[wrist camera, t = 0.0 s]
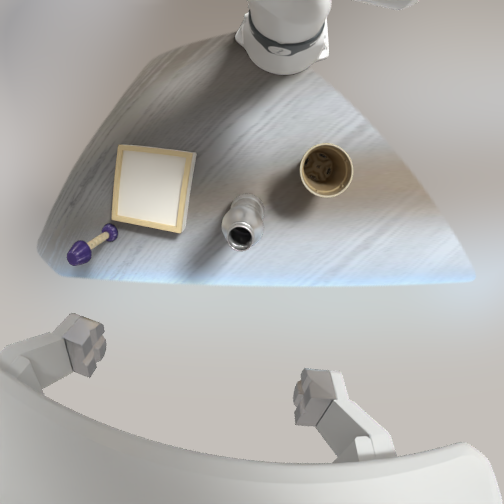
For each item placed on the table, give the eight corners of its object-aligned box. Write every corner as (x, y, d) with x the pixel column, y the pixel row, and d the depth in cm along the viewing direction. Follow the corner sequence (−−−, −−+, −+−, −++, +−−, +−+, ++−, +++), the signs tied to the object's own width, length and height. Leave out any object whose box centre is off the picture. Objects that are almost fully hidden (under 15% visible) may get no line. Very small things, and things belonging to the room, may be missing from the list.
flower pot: (340, 190, 54) (352, 198, 46) (294, 190, 55) (300, 197, 47) (340, 144, 51) (353, 144, 43) (293, 143, 51) (299, 142, 43)
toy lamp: (110, 218, 58) (68, 242, 43) (123, 232, 59) (84, 260, 44) (100, 231, 59) (59, 258, 44) (112, 245, 61) (74, 275, 45)
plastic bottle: (245, 229, 58) (236, 270, 39) (225, 203, 56) (205, 233, 38) (271, 211, 56) (274, 245, 38) (251, 184, 55) (244, 204, 36)
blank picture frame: (126, 144, 52) (118, 144, 49) (196, 152, 53) (192, 153, 49) (119, 215, 58) (111, 219, 54) (185, 228, 58) (180, 233, 55)
